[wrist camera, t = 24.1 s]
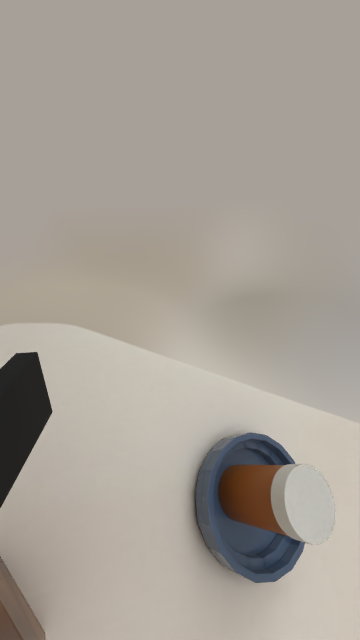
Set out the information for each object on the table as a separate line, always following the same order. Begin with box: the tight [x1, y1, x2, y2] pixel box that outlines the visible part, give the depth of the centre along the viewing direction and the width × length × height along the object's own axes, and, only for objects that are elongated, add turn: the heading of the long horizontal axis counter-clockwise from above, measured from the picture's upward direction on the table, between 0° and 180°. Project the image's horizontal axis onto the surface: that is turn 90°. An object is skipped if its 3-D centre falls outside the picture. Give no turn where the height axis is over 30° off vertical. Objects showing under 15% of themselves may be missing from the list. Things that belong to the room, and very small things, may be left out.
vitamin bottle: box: [218, 464, 335, 545], centre depth 30 cm, size 6×6×11 cm
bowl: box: [195, 433, 305, 583], centre depth 34 cm, size 14×15×4 cm
